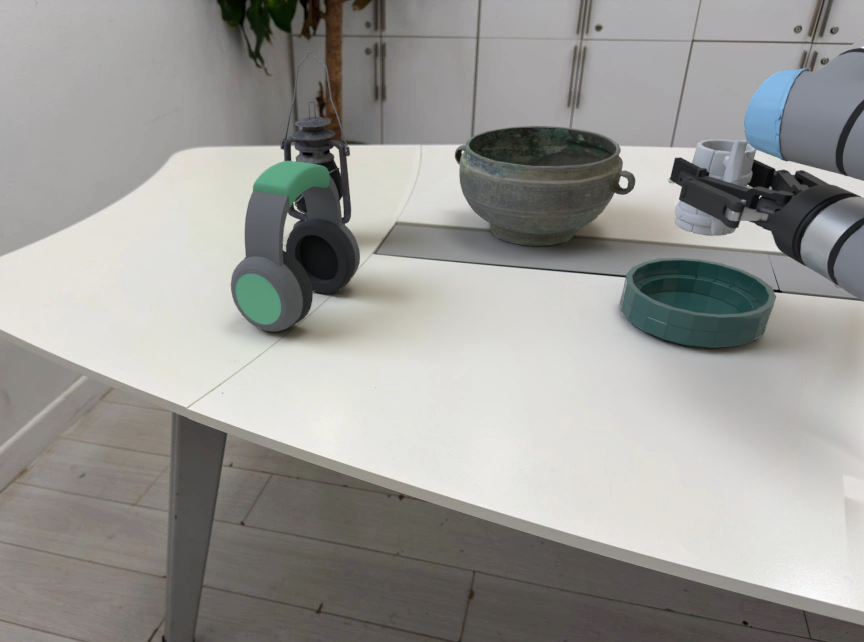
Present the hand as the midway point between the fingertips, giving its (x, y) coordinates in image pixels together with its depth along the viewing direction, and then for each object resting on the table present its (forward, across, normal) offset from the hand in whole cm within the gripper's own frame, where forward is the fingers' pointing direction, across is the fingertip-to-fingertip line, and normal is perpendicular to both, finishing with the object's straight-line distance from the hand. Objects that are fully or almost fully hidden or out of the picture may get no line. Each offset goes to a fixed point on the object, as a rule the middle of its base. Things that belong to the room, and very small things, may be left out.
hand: (706, 166), depth 84 cm
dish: (-5, 0, -19) cm, 19 cm away
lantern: (+31, -47, -19) cm, 59 cm away
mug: (-5, -1, -7) cm, 8 cm away
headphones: (+7, -51, -19) cm, 55 cm away
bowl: (+30, -10, -19) cm, 36 cm away
